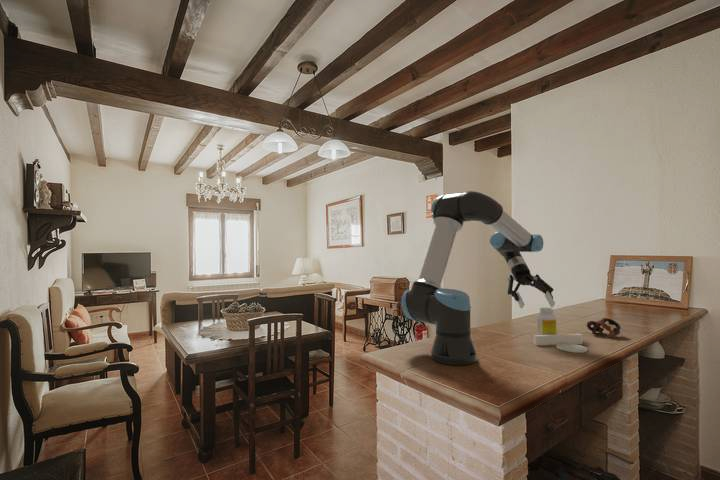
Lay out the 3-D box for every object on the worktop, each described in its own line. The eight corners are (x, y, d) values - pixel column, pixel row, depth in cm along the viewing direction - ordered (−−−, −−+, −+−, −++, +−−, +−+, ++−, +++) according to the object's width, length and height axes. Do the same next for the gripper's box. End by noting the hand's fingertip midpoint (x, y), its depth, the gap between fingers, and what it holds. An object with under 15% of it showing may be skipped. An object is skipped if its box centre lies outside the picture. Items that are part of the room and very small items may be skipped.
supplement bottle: (560, 341, 143) (559, 309, 143) (546, 343, 141) (545, 310, 141) (548, 337, 149) (547, 306, 149) (534, 339, 148) (533, 307, 148)
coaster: (567, 353, 128) (567, 351, 128) (550, 345, 138) (550, 343, 138) (594, 352, 129) (594, 350, 129) (575, 344, 139) (575, 342, 139)
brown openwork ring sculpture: (607, 333, 157) (617, 318, 154) (617, 348, 149) (627, 333, 145) (579, 326, 158) (588, 311, 155) (587, 340, 150) (597, 325, 146)
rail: (535, 345, 138) (535, 336, 138) (533, 344, 140) (533, 335, 140) (582, 343, 140) (582, 334, 140) (579, 342, 141) (579, 333, 141)
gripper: (541, 273, 172) (561, 310, 157) (490, 274, 170) (506, 312, 155) (547, 262, 166) (569, 300, 151) (495, 263, 164) (512, 301, 149)
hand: (538, 306), depth 153 cm, fingers open, 13 cm apart
